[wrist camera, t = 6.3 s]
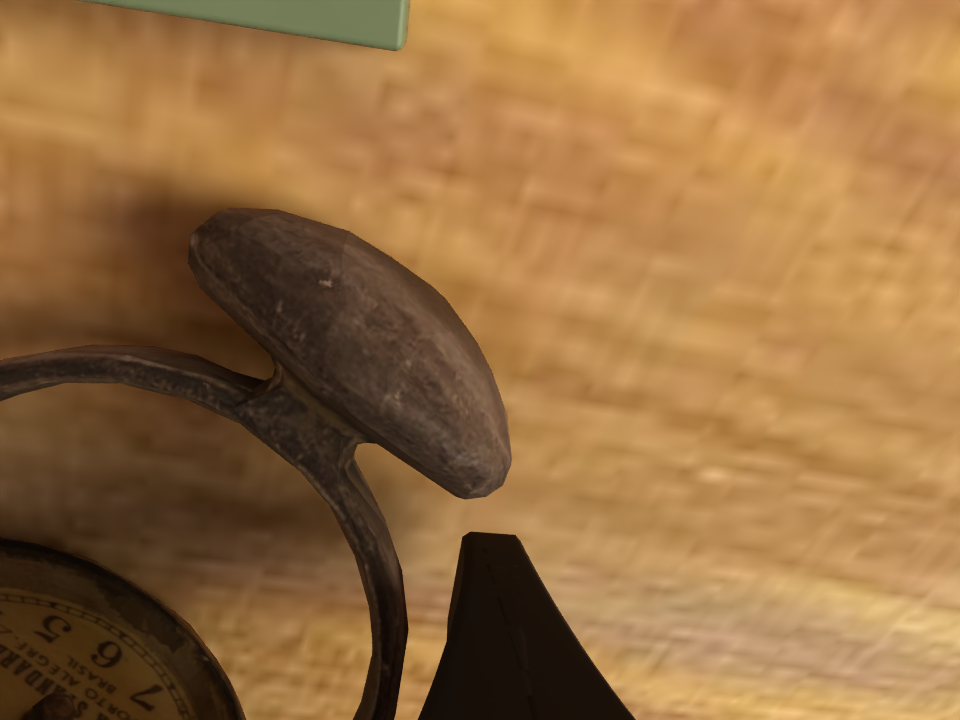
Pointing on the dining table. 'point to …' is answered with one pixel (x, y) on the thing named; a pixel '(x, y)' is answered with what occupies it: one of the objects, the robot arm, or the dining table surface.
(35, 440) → the dining table surface
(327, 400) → the mechanical counter
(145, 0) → the bay
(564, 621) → the robot arm
